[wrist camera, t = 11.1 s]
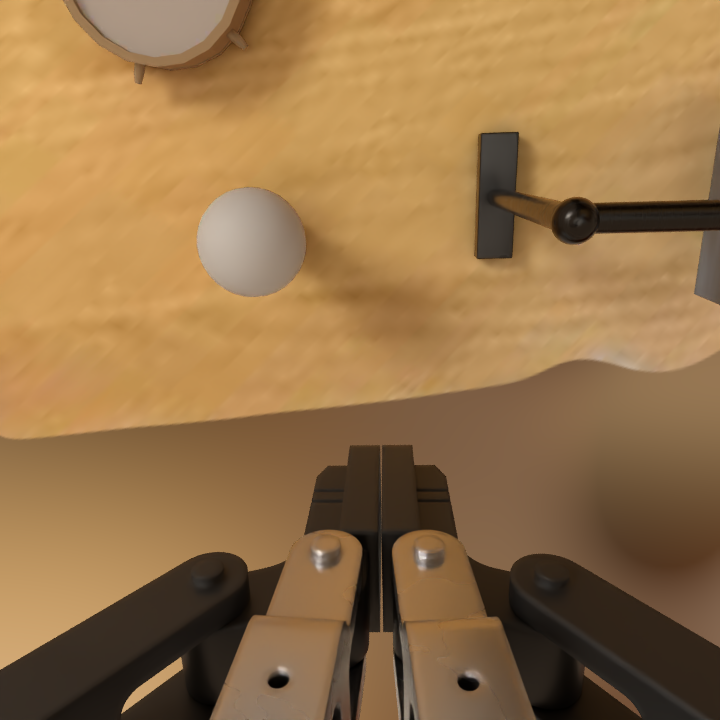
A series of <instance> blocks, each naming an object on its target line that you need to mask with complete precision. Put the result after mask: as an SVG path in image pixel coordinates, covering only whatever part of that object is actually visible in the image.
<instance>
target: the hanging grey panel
mask: <svg viewBox="0 0 720 720" xmlns="http://www.w3.org/2000/svg"><path fill="white" fill-rule="evenodd" d="M709 200H720V129H719V135H718V142H717V148H716V155H715V161H714V168H713V174H712V181H711V187H710V194H709ZM694 294H695V295H698V296H700V297H703V298H705V299H707V300H710V301H712V302H714V303H717V304H719V305H720V231H704V232H703V239H702V245H701V252H700V258H699V265H698V271H697V278H696V284H695V291H694Z"/></svg>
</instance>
